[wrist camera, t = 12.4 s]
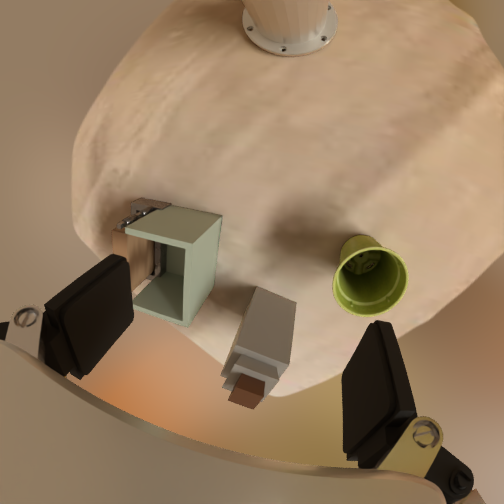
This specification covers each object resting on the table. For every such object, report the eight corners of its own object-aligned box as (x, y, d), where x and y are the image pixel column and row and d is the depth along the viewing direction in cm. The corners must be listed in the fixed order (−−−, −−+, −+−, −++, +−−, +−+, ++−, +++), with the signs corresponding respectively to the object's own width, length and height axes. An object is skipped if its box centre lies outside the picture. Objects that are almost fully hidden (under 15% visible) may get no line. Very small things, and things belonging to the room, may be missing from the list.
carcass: (167, 204, 39) (125, 227, 30) (222, 215, 38) (192, 243, 29) (164, 272, 45) (130, 307, 35) (213, 286, 44) (188, 327, 34)
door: (145, 208, 41) (106, 229, 32) (163, 212, 40) (126, 234, 31) (145, 258, 44) (112, 286, 35) (162, 263, 44) (130, 293, 35)
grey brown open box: (141, 196, 40) (97, 217, 30) (171, 202, 39) (130, 225, 29) (141, 266, 45) (105, 298, 35) (168, 274, 45) (134, 310, 35)
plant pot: (355, 294, 39) (363, 329, 32) (315, 253, 38) (316, 283, 30) (401, 255, 35) (421, 284, 28) (363, 209, 34) (378, 230, 26)
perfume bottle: (242, 316, 45) (210, 401, 29) (256, 286, 42) (225, 372, 26) (279, 331, 45) (261, 419, 29) (296, 302, 42) (285, 394, 26)
